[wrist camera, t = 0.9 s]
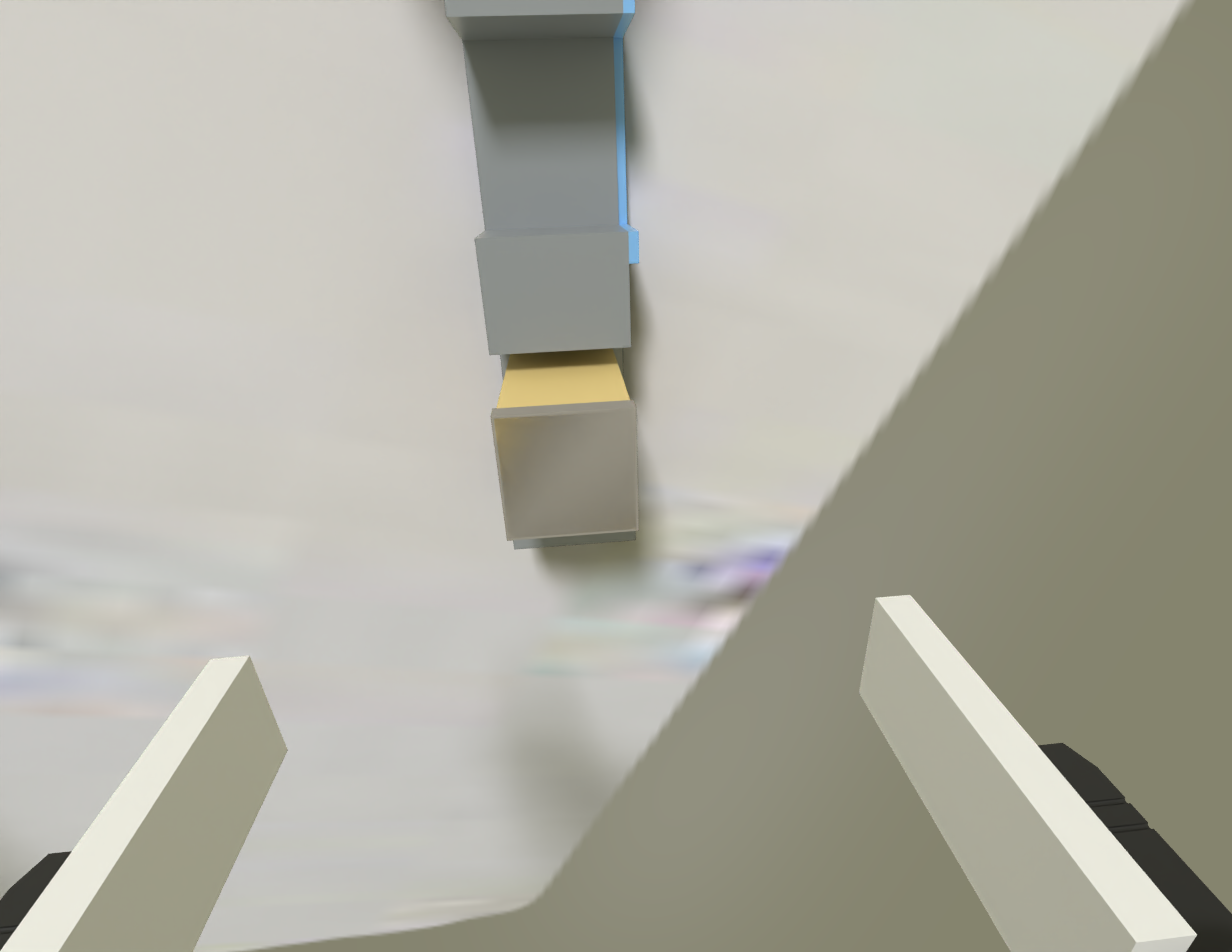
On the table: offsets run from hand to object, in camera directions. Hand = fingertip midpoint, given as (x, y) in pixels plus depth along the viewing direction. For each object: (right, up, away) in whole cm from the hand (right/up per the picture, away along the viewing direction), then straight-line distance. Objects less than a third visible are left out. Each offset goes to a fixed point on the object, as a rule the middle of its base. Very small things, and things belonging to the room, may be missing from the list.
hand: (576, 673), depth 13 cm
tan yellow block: (-2, +8, +18) cm, 20 cm away
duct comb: (-2, +14, +16) cm, 22 cm away
